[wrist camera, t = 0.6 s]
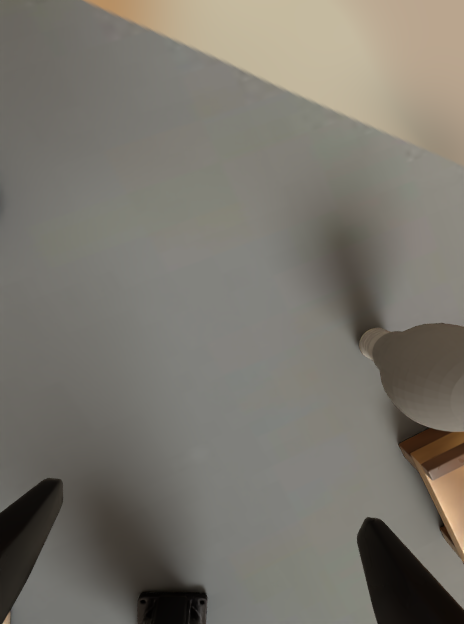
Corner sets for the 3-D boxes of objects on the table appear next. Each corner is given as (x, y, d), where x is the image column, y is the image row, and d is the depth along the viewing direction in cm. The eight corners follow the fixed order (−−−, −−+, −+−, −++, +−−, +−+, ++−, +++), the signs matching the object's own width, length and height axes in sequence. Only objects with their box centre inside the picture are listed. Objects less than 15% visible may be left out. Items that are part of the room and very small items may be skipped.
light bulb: (355, 387, 23) (456, 479, 13) (324, 329, 22) (408, 380, 12) (418, 353, 23) (570, 420, 13) (389, 292, 22) (530, 314, 12)
